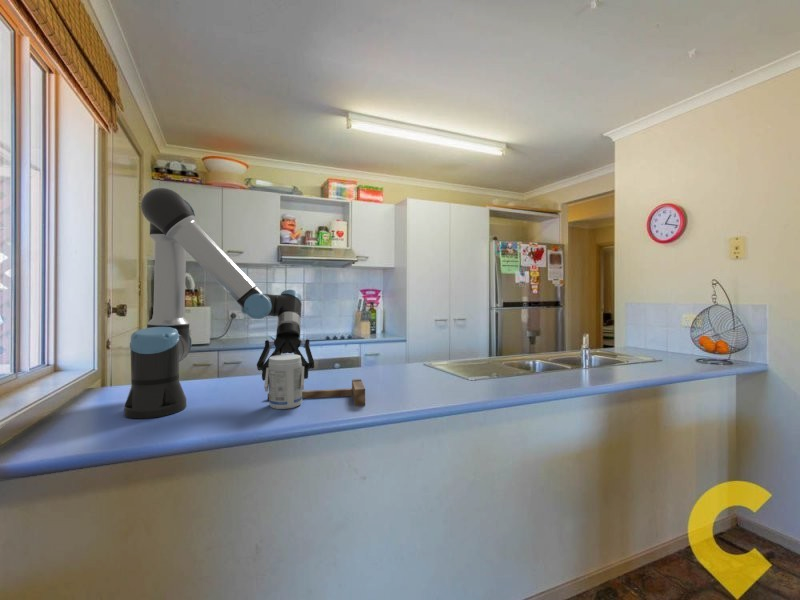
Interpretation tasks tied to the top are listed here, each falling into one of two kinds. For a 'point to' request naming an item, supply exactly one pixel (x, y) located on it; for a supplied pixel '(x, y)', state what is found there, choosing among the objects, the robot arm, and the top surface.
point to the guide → (340, 393)
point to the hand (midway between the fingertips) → (284, 388)
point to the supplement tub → (285, 381)
